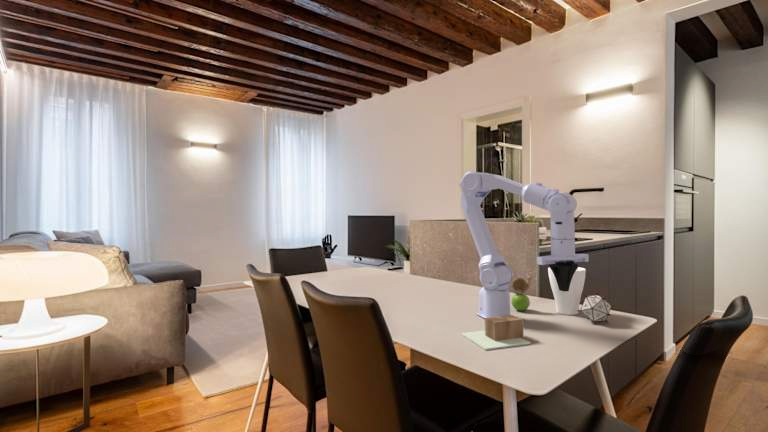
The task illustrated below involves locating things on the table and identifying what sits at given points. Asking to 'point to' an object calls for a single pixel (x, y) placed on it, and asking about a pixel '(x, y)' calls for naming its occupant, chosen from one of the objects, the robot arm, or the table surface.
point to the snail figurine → (521, 293)
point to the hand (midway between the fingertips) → (563, 290)
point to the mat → (492, 341)
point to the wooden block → (504, 327)
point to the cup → (568, 292)
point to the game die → (596, 308)
